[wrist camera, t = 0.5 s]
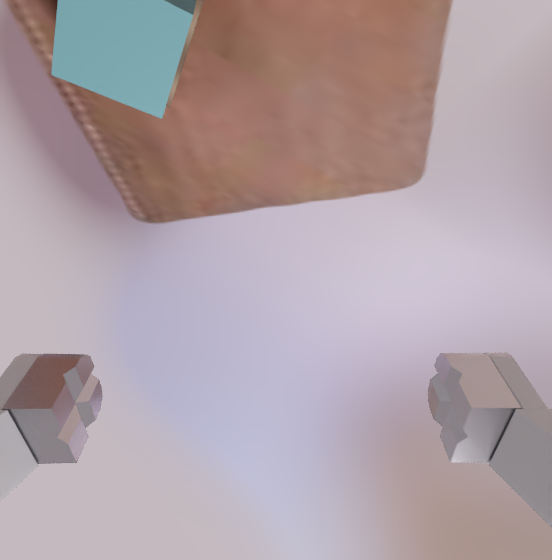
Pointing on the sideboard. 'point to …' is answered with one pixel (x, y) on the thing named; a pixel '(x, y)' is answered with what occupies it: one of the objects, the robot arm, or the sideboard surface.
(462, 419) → the robot arm
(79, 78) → the tower top block
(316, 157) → the sideboard surface
